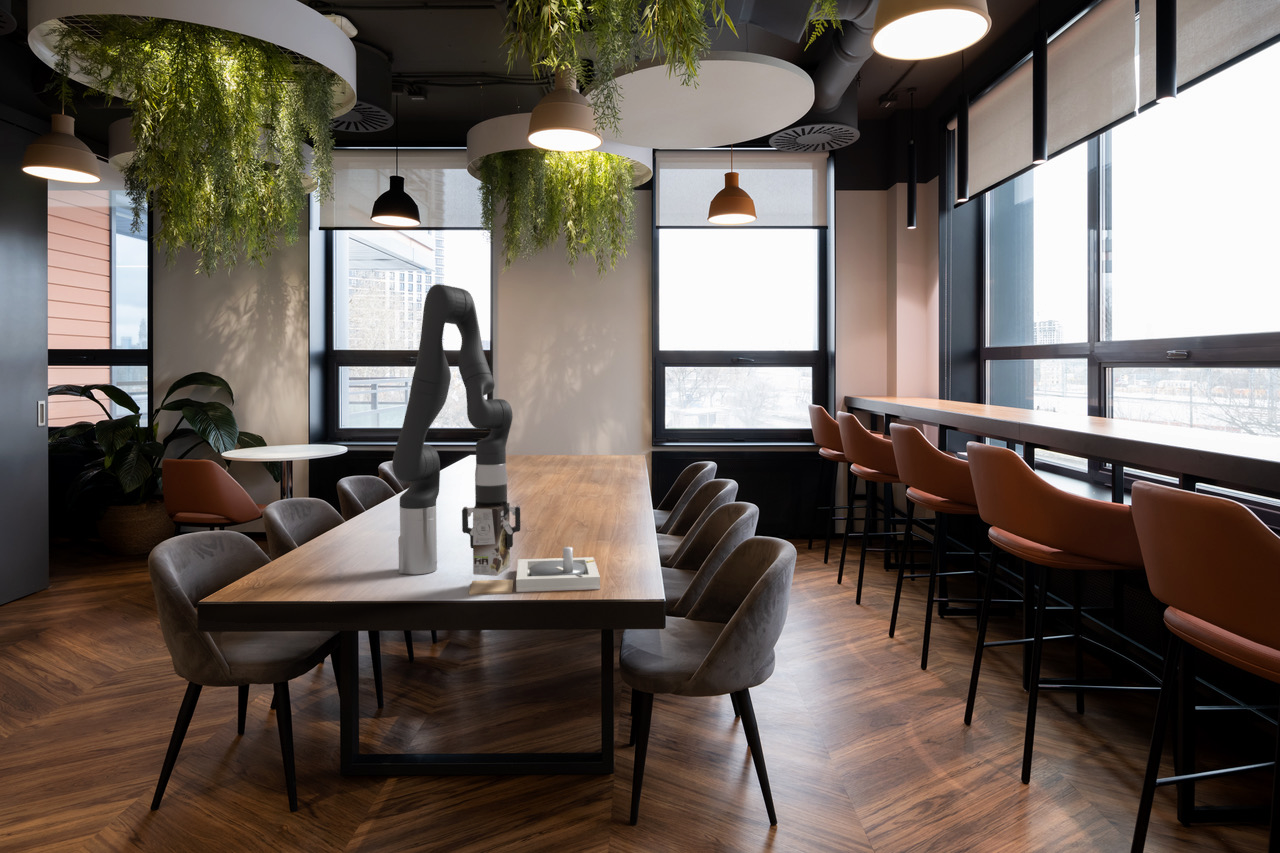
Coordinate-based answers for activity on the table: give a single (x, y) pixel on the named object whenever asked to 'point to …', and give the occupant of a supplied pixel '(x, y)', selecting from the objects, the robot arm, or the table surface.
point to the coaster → (491, 587)
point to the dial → (558, 566)
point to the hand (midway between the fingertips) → (492, 549)
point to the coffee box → (490, 541)
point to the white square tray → (557, 577)
